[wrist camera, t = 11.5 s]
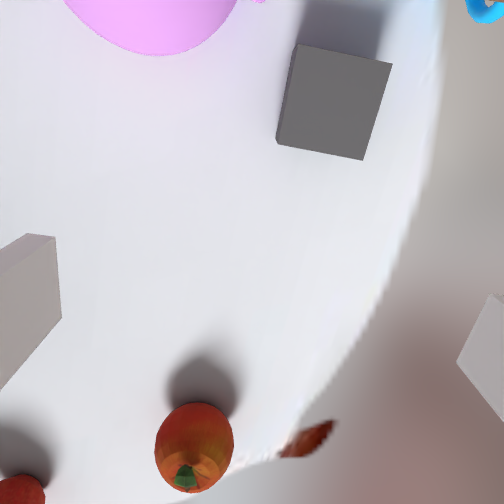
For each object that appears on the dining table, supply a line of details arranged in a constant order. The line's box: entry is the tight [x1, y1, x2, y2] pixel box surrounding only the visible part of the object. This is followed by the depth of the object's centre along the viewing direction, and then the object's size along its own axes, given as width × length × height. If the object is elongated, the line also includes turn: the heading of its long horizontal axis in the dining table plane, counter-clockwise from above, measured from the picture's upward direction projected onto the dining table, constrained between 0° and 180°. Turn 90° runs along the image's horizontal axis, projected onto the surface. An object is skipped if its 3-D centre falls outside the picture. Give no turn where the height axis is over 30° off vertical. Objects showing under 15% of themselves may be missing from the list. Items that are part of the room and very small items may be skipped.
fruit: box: [154, 402, 234, 493], centre depth 42 cm, size 10×10×10 cm
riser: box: [276, 44, 392, 161], centre depth 28 cm, size 7×7×4 cm
